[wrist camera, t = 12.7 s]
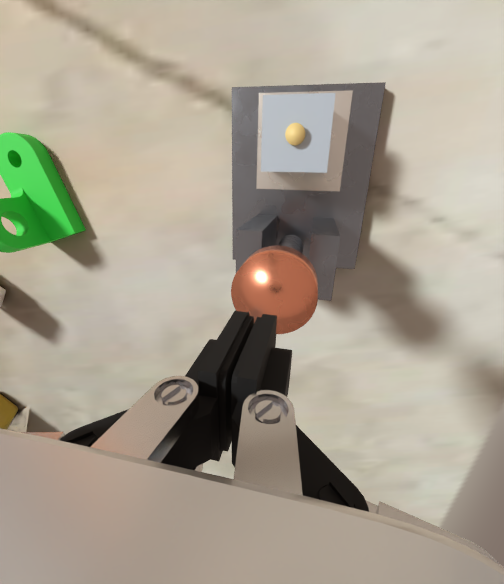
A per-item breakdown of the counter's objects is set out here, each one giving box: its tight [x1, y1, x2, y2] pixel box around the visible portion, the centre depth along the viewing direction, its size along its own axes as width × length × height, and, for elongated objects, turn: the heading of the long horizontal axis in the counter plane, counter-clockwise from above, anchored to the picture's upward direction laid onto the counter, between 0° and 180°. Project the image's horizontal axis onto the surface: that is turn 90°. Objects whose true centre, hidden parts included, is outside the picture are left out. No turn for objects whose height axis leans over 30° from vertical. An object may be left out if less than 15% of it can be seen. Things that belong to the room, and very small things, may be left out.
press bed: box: [232, 83, 385, 301], centre depth 24 cm, size 16×13×10 cm
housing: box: [261, 93, 335, 173], centre depth 23 cm, size 5×5×6 cm
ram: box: [231, 235, 318, 334], centre depth 22 cm, size 5×5×12 cm
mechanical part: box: [0, 132, 86, 253], centre depth 32 cm, size 12×6×8 cm, turn 17°
